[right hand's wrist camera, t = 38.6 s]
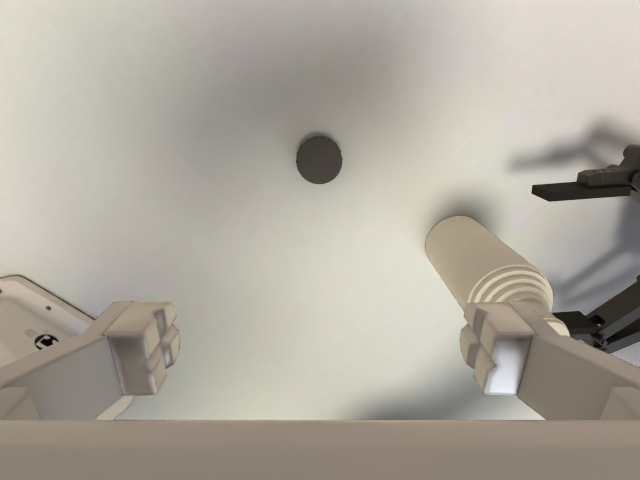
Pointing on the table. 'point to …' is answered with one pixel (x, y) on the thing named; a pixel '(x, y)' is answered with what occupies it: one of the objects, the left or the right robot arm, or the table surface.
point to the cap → (319, 160)
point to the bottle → (487, 268)
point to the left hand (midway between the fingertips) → (529, 264)
